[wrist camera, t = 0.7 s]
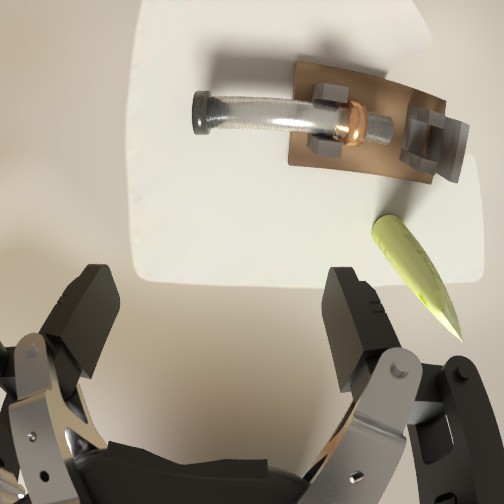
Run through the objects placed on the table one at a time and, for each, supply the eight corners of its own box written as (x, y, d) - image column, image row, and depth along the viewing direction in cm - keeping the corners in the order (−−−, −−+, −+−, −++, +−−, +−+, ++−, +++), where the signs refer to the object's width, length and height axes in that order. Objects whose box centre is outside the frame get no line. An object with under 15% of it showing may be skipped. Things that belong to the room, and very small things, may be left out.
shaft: (201, 89, 24) (191, 88, 20) (379, 106, 24) (400, 111, 20) (200, 132, 26) (191, 140, 22) (374, 146, 27) (393, 157, 23)
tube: (364, 244, 37) (424, 355, 20) (369, 212, 34) (446, 318, 18) (397, 243, 37) (463, 343, 20) (404, 213, 34) (486, 308, 17)
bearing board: (295, 62, 24) (308, 54, 18) (441, 100, 24) (476, 108, 18) (287, 162, 30) (298, 182, 24) (426, 181, 31) (456, 202, 25)
